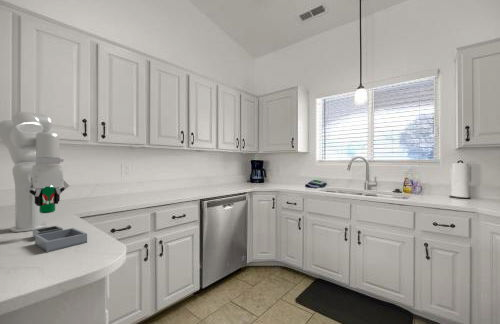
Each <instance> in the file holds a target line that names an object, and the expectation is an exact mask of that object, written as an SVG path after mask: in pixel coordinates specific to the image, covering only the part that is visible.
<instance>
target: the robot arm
mask: <svg viewBox="0 0 500 324" xmlns="http://www.w3.org/2000/svg"><path fill="white" fill-rule="evenodd" d="M52 126H53V122H52V119H51V117H49V115H47V114H42V113H34V112H28V111H19V112H16V113H14V114H13V115H12V116H11V119H7V120H5V119H4V120H2V121H0V142H1V143H2V144H3V145H4V147H6V149H7V150H8V152H9V155H10V159H11V160H12V162H13V164H14V165H13V167H12V169H11V170H12V176H13V180H14V181H13V182H14V197H15V199H14V200H15V202H14V203H15V204H14V207H15V208H14V211H15V212H14V215H15V216H14V217H15V218H14V223H15V224H14V226H12V227H10V230H9V231H10V232H13V233H16V232H17V233H20V232H29V231H31V232H32V231H33V230H35V229H41V228H46V227H48V223H47V222H44V213H40V212H39V206H41V196H40V195H39V194H40V192H41V189H44V188H45V187H47V186H53V187H54V188H55V205H58V204H59V202H60V201H61V200H60V199H61V194H62V193H63V192H64V191H65V190H66V189H67V188H69V187H70V185H69V184H68V183H67V181H65V180H64V173H63V172H64V171H63V166H62V164H61V163H64V159H62V158H61V157H60V135H59V134H58V133H55V132H49V131H51V129H52Z"/></svg>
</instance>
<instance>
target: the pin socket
mask: <svg viewBox="0 0 500 324" xmlns="http://www.w3.org/2000/svg"><path fill="white" fill-rule="evenodd" d="M60 230H64V229H63V227H60V226H58V225H51V226H46V227H44V228H40V229H35V230H32V238H34V239H35V235H39V234H44V233H50V232H55V231H60Z"/></svg>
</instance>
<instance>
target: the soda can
mask: <svg viewBox="0 0 500 324" xmlns="http://www.w3.org/2000/svg"><path fill="white" fill-rule="evenodd" d="M39 195H40V196H41V206H39V212H40V213H43V214H49V213H50V214H51V213H54V212H55V211H56V204H55V188H54V187H53V186H47V187H45V188H44V189H41V192H40V194H39Z"/></svg>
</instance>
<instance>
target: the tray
mask: <svg viewBox="0 0 500 324" xmlns="http://www.w3.org/2000/svg"><path fill="white" fill-rule="evenodd" d="M34 239H35V240H34V245H35V246H37V247H38V248H40V249H41V250H42V251H44V252H46V253H50V252H54V251H58V250H62V249H67V248H70V247H75V246H79V245H84V244H87V243H88V233H87V232H84V231H82V230H79V229H77V228H74V227H70V228H65V229H63V230H60V231H55V232H50V233H44V234H39V235H35V238H34Z"/></svg>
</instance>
